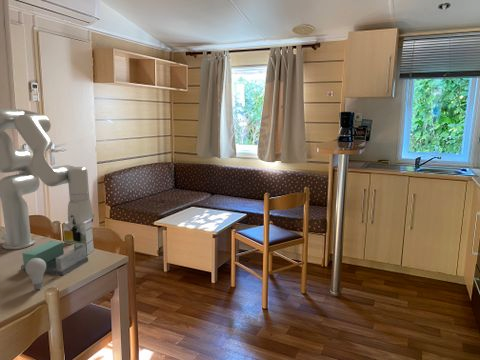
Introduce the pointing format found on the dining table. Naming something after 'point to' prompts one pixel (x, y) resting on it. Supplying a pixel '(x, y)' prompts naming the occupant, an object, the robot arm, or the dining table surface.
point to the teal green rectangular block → (44, 252)
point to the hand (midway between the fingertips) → (82, 237)
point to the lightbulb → (36, 271)
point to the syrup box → (85, 236)
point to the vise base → (54, 268)
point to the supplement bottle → (68, 234)
